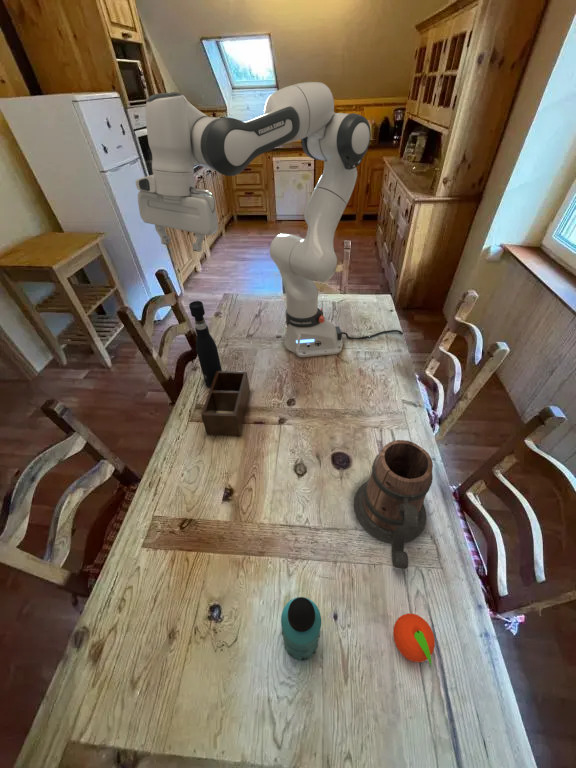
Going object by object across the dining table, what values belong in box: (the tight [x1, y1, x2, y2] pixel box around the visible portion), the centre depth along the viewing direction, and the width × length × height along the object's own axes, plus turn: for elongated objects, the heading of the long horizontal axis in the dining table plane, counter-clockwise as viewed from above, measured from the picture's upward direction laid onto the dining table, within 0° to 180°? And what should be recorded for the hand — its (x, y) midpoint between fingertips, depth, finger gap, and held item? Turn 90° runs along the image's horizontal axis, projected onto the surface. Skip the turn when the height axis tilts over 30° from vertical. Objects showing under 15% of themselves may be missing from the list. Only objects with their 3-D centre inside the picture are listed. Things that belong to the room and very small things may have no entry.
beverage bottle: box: [280, 596, 322, 663], centre depth 56 cm, size 6×7×20 cm
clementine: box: [392, 613, 436, 667], centre depth 60 cm, size 8×7×7 cm
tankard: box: [353, 439, 434, 570], centre depth 72 cm, size 24×17×20 cm
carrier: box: [200, 370, 251, 437], centre depth 103 cm, size 10×19×9 cm, turn 176°
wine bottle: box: [188, 300, 223, 389], centre depth 107 cm, size 6×6×30 cm
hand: (181, 247), depth 86 cm, fingers open, 8 cm apart
